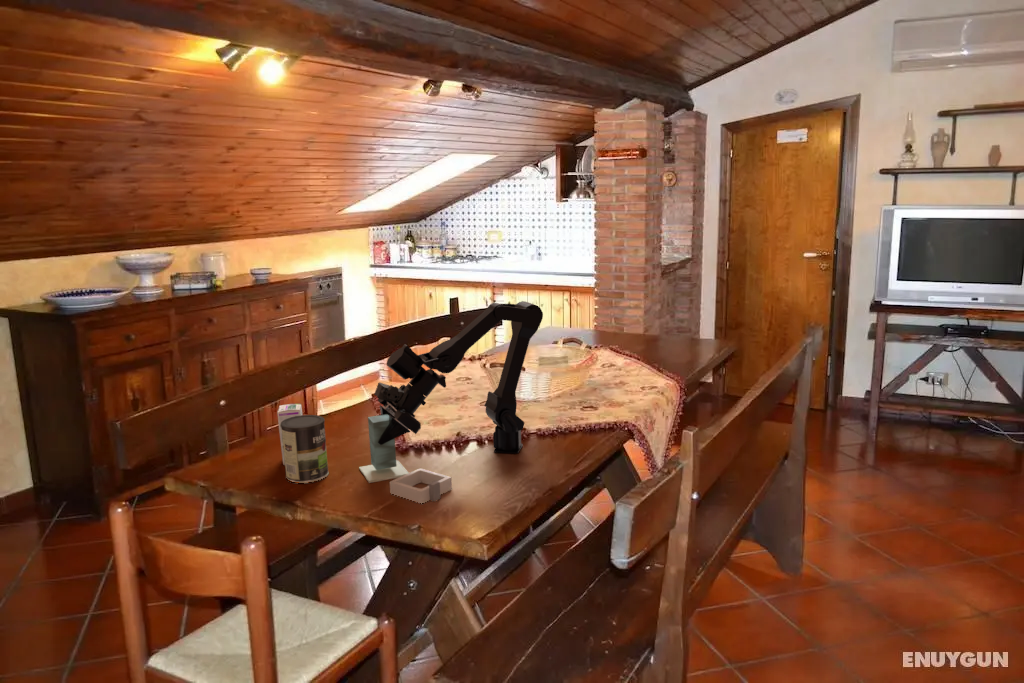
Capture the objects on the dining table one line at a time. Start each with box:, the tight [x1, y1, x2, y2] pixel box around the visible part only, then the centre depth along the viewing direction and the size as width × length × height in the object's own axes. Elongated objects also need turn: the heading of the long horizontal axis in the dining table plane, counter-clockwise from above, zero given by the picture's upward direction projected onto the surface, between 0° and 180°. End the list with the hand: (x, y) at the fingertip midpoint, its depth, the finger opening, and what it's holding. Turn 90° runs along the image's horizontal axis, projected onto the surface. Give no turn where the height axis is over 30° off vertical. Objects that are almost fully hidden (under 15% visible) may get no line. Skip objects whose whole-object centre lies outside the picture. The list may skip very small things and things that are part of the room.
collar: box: [389, 467, 453, 505], centre depth 181 cm, size 10×11×4 cm
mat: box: [358, 459, 410, 484], centre depth 194 cm, size 10×10×1 cm
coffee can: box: [281, 414, 330, 484], centre depth 192 cm, size 10×10×14 cm
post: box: [367, 414, 397, 470], centre depth 193 cm, size 5×5×12 cm
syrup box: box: [277, 403, 303, 466], centre depth 202 cm, size 6×6×14 cm
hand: (376, 440), depth 192 cm, fingers closed on post, 5 cm apart
